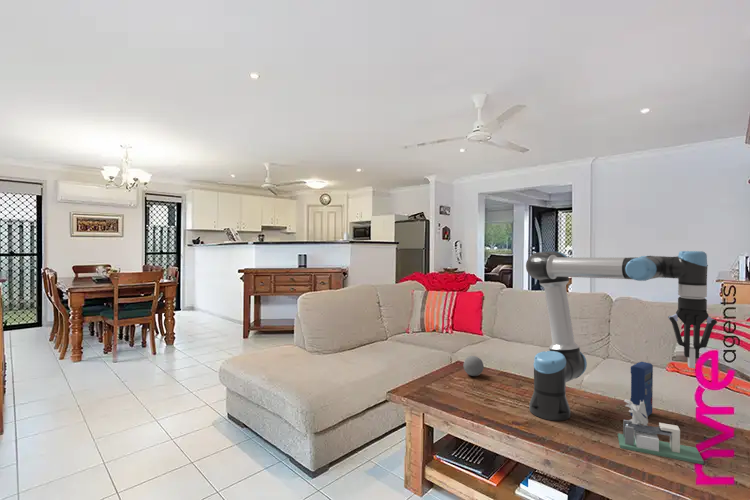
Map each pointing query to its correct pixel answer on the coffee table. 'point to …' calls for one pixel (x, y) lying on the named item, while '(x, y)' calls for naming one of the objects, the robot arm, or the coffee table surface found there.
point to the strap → (648, 429)
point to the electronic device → (642, 385)
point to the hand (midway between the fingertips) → (691, 367)
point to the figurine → (637, 412)
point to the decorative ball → (473, 366)
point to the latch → (672, 436)
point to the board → (655, 445)
